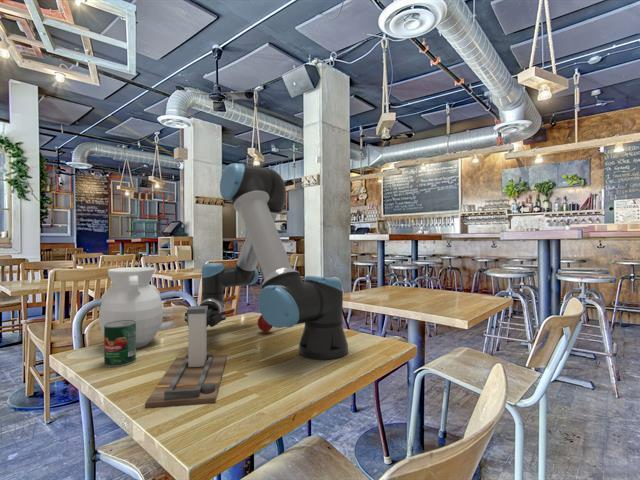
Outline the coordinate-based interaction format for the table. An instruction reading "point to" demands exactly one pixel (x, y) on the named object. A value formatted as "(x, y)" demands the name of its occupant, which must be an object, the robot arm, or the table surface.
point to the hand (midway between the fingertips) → (196, 329)
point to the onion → (263, 325)
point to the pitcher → (133, 302)
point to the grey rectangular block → (197, 336)
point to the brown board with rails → (189, 383)
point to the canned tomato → (119, 343)
